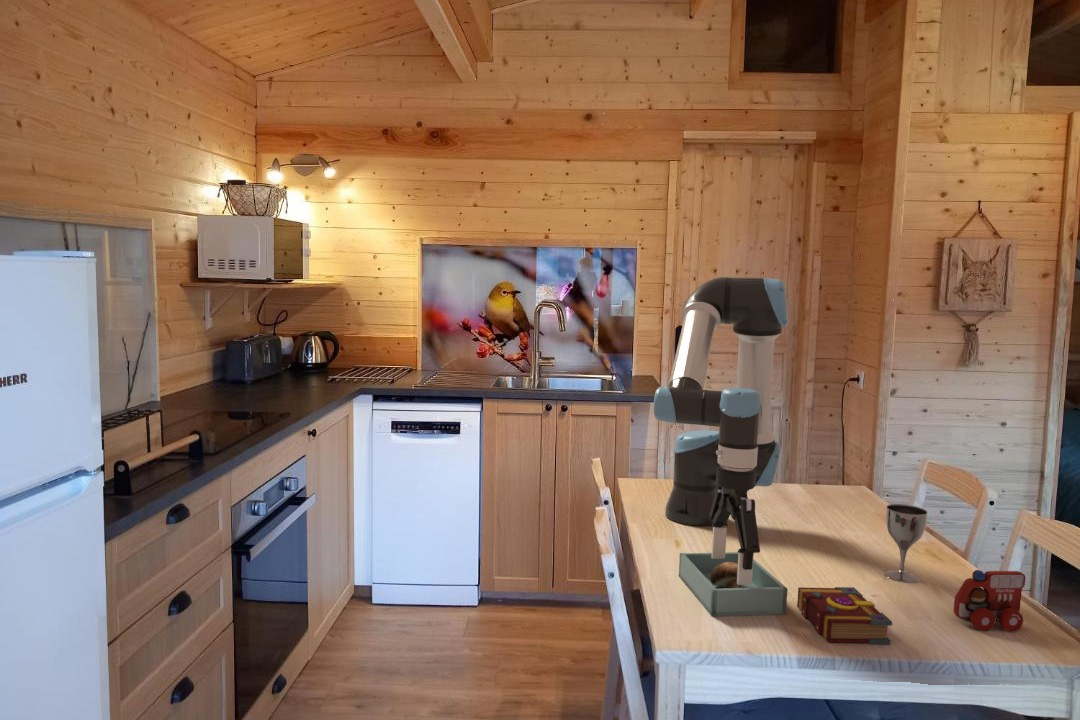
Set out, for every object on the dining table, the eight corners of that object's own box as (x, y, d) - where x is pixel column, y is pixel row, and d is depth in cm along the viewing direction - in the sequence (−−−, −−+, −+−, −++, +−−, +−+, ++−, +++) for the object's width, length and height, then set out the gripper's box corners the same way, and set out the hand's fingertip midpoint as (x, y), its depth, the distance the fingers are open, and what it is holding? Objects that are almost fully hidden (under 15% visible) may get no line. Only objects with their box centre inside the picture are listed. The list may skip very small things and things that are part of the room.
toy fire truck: (943, 614, 144) (947, 562, 143) (1006, 616, 144) (1011, 563, 143) (964, 631, 137) (969, 576, 136) (1030, 632, 137) (1036, 577, 136)
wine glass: (918, 572, 165) (924, 506, 164) (924, 585, 158) (930, 516, 156) (879, 567, 168) (884, 502, 166) (883, 580, 160) (888, 511, 159)
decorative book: (826, 645, 130) (828, 617, 130) (793, 606, 146) (794, 581, 146) (890, 646, 130) (893, 618, 130) (850, 607, 146) (852, 582, 146)
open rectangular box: (678, 576, 159) (679, 553, 158) (744, 574, 161) (745, 552, 160) (711, 616, 140) (713, 590, 139) (785, 614, 142) (787, 588, 141)
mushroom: (753, 586, 144) (742, 554, 147) (713, 597, 146) (703, 565, 149) (757, 592, 151) (747, 561, 154) (719, 602, 153) (709, 572, 156)
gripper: (696, 452, 160) (691, 548, 162) (743, 483, 135) (737, 596, 137) (730, 452, 161) (725, 548, 163) (783, 483, 136) (775, 595, 138)
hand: (730, 570), depth 150 cm, fingers open, 13 cm apart
